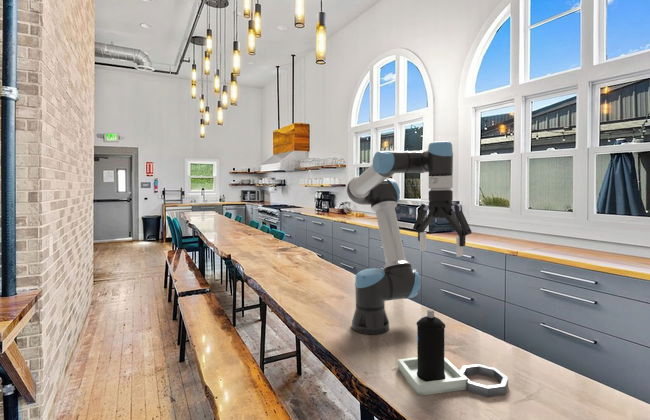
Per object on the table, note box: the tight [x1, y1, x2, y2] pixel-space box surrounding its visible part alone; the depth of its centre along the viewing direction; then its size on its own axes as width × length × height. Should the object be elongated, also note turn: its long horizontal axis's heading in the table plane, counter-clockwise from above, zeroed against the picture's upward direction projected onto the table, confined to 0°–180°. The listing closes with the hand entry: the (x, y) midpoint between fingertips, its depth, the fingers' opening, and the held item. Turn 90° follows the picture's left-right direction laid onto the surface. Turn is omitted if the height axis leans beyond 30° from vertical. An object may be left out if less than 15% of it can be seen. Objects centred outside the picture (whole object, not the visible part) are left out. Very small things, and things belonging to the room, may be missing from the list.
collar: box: [459, 363, 509, 398], centre depth 104 cm, size 12×12×2 cm
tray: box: [397, 356, 469, 397], centre depth 107 cm, size 15×15×3 cm
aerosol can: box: [415, 308, 446, 382], centre depth 107 cm, size 8×8×20 cm
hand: (440, 253), depth 120 cm, fingers open, 13 cm apart
